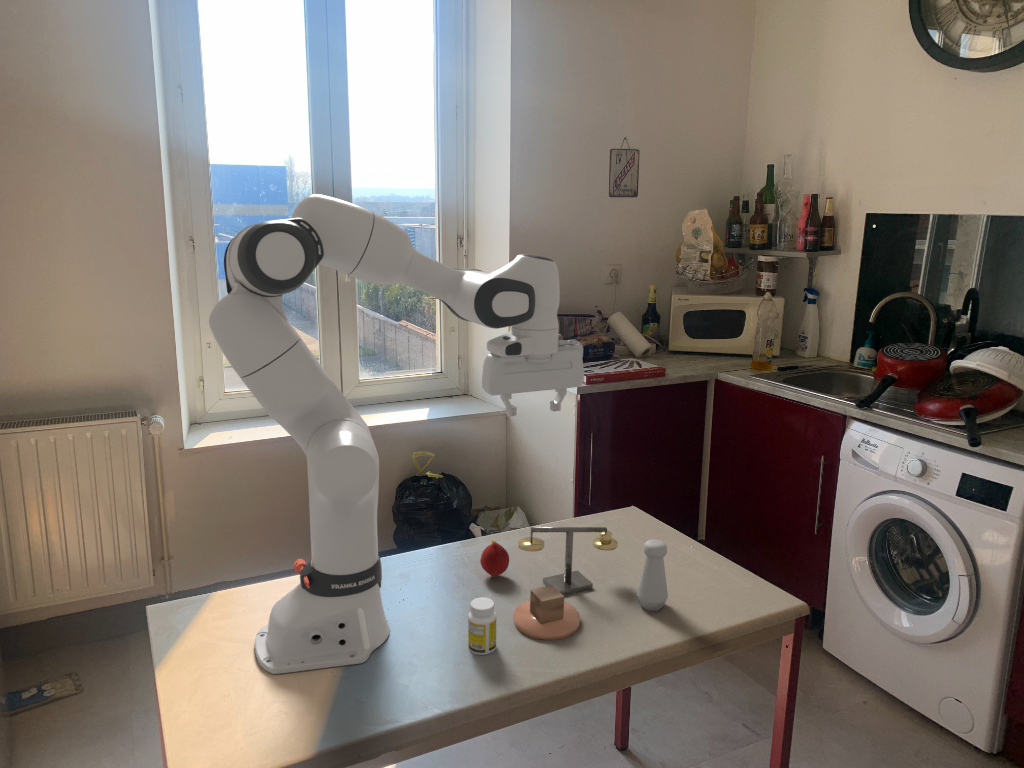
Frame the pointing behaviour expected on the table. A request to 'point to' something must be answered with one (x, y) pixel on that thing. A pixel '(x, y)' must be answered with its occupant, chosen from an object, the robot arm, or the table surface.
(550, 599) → the block
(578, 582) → the balance
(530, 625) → the dish
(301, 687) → the table surface
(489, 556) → the onion
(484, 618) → the supplement bottle
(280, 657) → the robot arm
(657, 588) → the salt shaker
